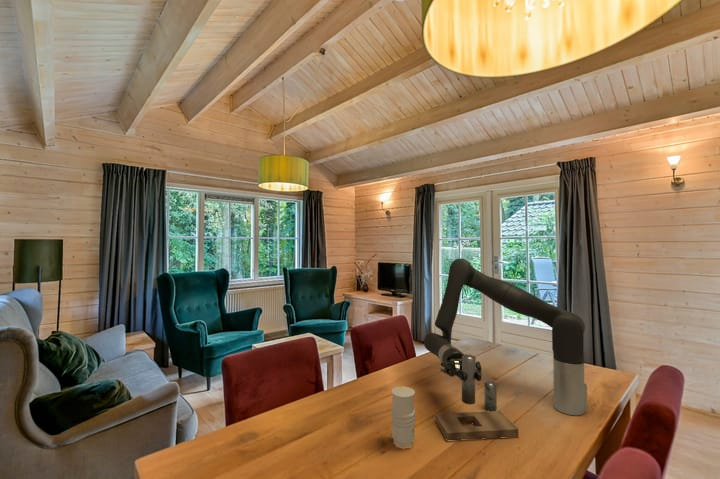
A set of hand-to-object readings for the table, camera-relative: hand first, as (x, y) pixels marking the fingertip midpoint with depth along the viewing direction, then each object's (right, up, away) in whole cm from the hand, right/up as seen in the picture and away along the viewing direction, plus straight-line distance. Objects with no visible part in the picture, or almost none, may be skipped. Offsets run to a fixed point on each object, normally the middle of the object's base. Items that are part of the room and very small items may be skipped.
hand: (472, 378), depth 103 cm
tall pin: (0, -8, +3) cm, 9 cm away
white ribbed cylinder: (-22, -17, -4) cm, 28 cm away
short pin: (+12, -17, +16) cm, 26 cm away
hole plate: (+2, -17, +3) cm, 17 cm away
